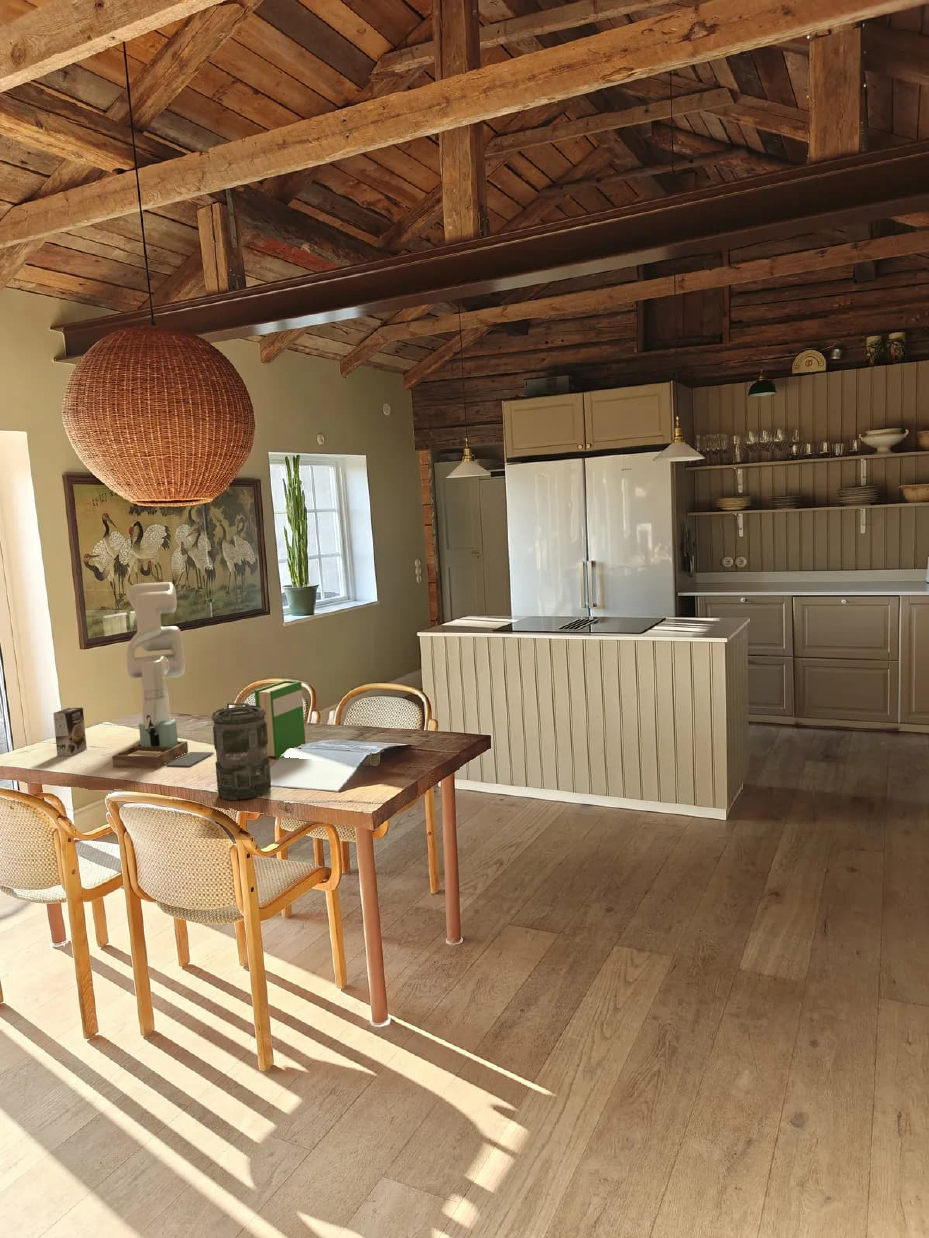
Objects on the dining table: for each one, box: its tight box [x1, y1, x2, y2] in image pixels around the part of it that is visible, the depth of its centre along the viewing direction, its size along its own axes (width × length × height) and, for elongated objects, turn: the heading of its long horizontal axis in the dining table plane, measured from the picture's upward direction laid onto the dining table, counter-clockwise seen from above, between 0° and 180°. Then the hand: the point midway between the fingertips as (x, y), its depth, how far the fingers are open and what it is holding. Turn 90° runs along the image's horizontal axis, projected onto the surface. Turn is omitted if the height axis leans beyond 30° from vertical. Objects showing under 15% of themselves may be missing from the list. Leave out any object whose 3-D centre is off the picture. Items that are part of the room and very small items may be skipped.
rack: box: [111, 740, 189, 770], centre depth 306 cm, size 20×17×4 cm
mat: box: [165, 751, 214, 768], centre depth 304 cm, size 16×9×1 cm, turn 167°
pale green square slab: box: [138, 720, 179, 747], centre depth 311 cm, size 4×12×12 cm, turn 77°
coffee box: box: [52, 707, 87, 757], centre depth 320 cm, size 9×6×16 cm
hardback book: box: [254, 679, 306, 759], centre depth 308 cm, size 18×7×24 cm, turn 157°
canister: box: [211, 702, 272, 801], centre depth 263 cm, size 16×16×28 cm
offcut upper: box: [127, 751, 162, 756], centre depth 303 cm, size 6×10×2 cm, turn 73°
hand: (159, 743), depth 311 cm, fingers closed on pale green square slab, 4 cm apart
